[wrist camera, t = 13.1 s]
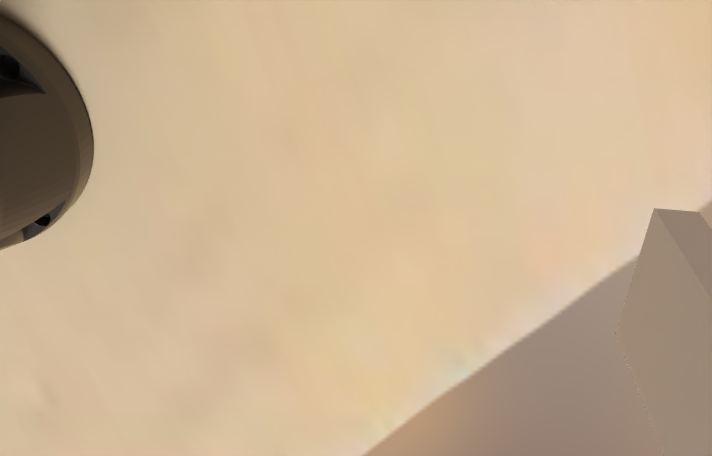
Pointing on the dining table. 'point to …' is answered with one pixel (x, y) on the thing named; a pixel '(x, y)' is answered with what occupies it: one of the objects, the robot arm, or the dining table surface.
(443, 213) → the dining table surface
